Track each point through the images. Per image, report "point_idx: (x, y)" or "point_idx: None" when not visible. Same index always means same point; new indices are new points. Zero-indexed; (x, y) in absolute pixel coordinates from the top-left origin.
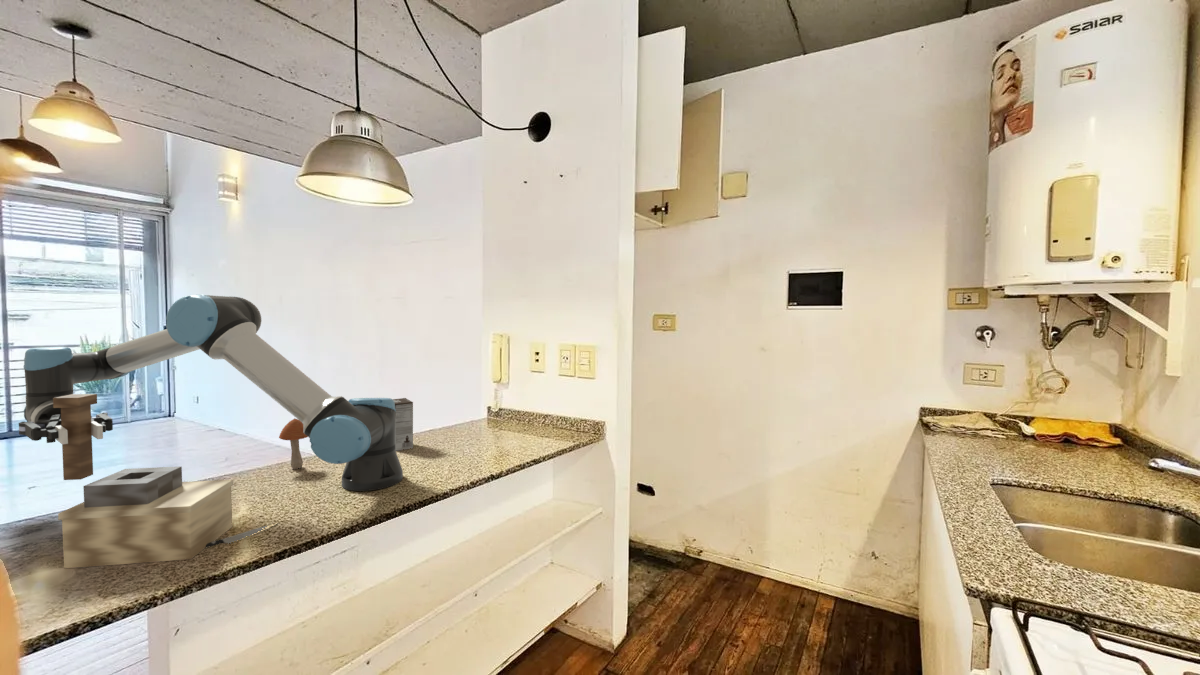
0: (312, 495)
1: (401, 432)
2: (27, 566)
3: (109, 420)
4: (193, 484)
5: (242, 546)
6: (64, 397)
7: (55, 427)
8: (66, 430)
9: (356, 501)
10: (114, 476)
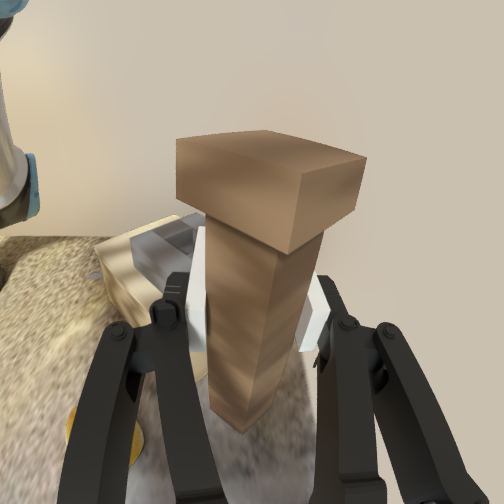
0: (14, 307)
1: None
2: (295, 364)
3: (123, 323)
4: (125, 260)
5: None
6: (320, 144)
7: (326, 309)
8: None
9: (29, 263)
10: None
